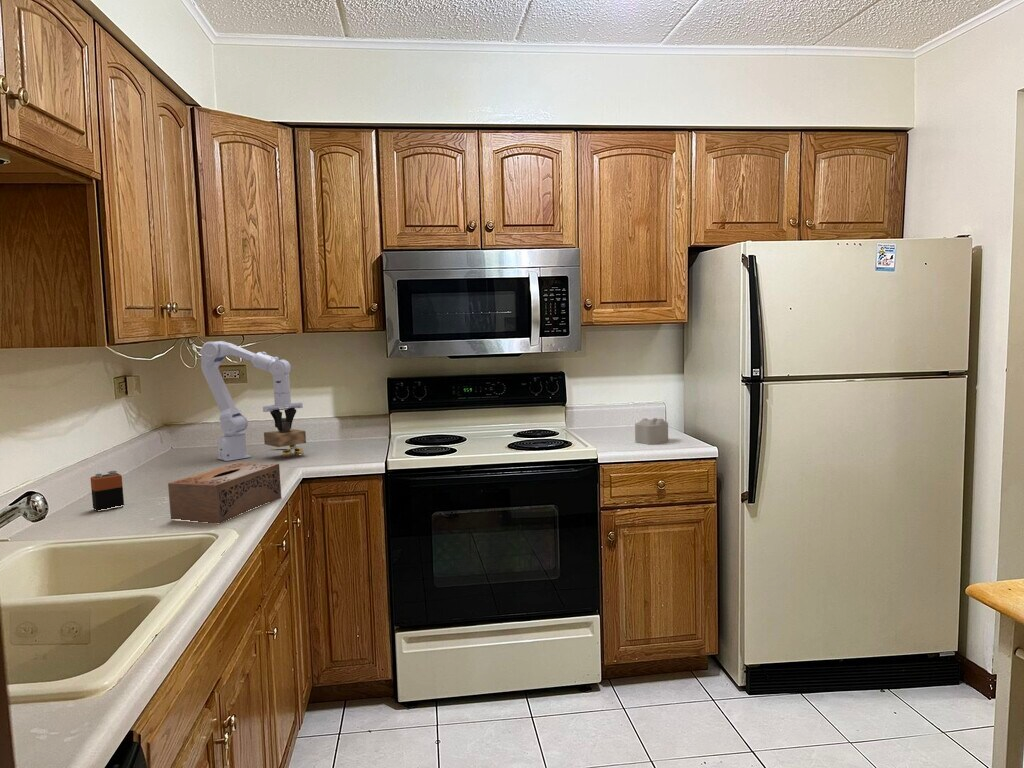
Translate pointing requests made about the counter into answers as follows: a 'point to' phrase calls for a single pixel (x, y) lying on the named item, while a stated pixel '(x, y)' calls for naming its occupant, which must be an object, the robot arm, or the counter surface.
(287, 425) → the cover
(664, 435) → the lumpy-topped squat cylinder
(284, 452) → the brass puck
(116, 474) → the battery
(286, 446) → the medicine bottle
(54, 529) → the counter surface
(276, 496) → the tissue box cover
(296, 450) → the brass puck
